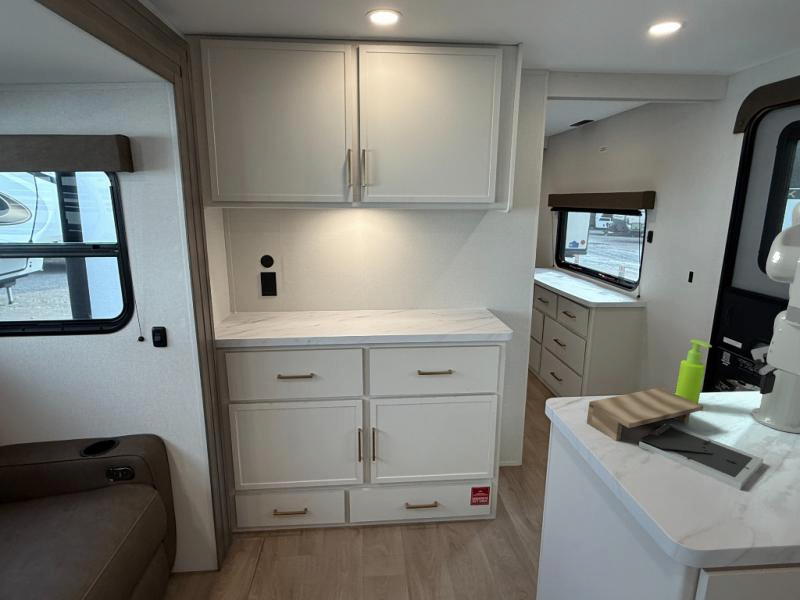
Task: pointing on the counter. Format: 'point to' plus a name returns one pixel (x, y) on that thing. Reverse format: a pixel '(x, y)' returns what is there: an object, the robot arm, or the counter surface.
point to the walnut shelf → (638, 410)
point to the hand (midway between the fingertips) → (791, 402)
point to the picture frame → (703, 455)
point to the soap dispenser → (691, 373)
